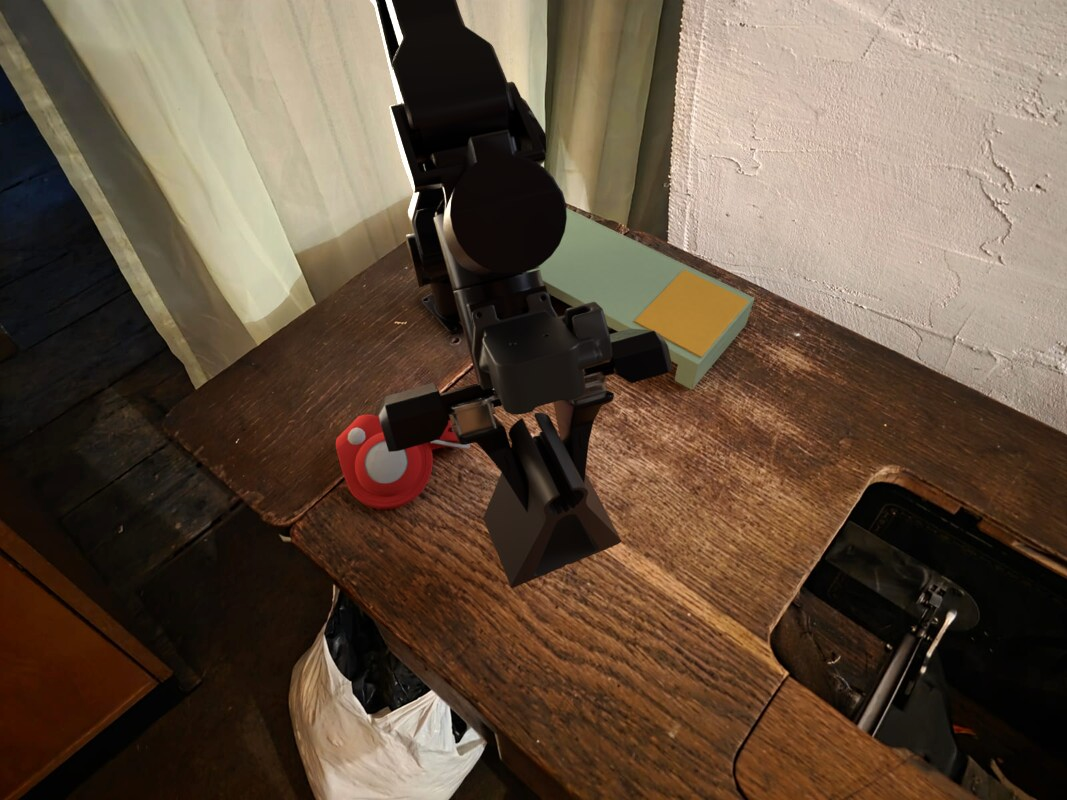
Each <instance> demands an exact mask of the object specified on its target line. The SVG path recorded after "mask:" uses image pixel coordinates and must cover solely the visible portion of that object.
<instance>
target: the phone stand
mask: <svg viewBox="0 0 1067 800" xmlns="http://www.w3.org/2000/svg"><path fill="white" fill-rule="evenodd" d="M533 417H534V419H535V420H536V423H537V425H538V427H539V429H540V430H541V431H540V432H539V434H538V435H533V437H532V435H531V433H530V431H529V428H528V426H527V424H526V422H525V420H524V418H523V417H522V418H519V419H518V420H517V421H515V423H514V424H512V425H511V426H510V429H509V431H508V439H509V441H510V443H511V444H510V446H511V449H512V451H513V454H514V456H515V459H516V461H517V464H518V466H519V469H520V471H521V474H522V476H523V478H524V481H525V483H526V486H527V488H528V512H526V510H525V509H524V507H523V505H522V504H521V502H520V501H519V499H518V498H517V496H516V494H515V493H514V491H513V490H512V488H511V487H510V485H509V483H508V482H507V480H506V479H505V477H504V475H503V474H502V472H500V475H499V477H498V480H497V483H496V484H495V487H494V490H493V492H492V495H491V497H490V500H489V501H488V505H487V507H486V509H485V512H484V515H483V517H482V519H483V522H484V524H485V527H486V529H487V532H488V534H489V536H490V539H491V541H492V545H493V546H494V549H495V551H496V554H497V557H498V559H499V561H500V562H499V563H500V564H501V567H502V569H503V571H504V574H505V576H506V579H507V581H508V584H509V586H510V588H512V589H513V588H516V587H519V586H522V585H523V584H526V583H529V582H531V581H533V580H536V579H538V578H540V577H543V576H545V575H548V574H550V573H552V572H555V571H557V570H560V569H562V568H565V567H566V566H567V565H572V564H574V563H577V562H579V561H581V560H584V559H586V558H589V557H591V556H593V555H596V554H598V553H600V552H603V551H606V550H608V549H610V548H612V547H615V546H618V545H619V544H620V543H621V542H622V538H621V536H620V535H619V533H618V531H617V529H616V528H615V525H614V523H613V521H612V520H611V517H610V516H609V514H608V512H607V510H606V507H605V506H604V504H603V503H602V501H601V499H600V497H599V495H598V493H597V491H596V489H595V488H594V485H593V483H592V482H591V480H590V478H589V476H588V475H587V473H585V483H583V481H582V479H581V477H580V475H579V473H578V471H577V469H576V467H575V465H574V463H573V462H572V460H571V458H570V456H569V454H568V452H567V450H566V448H565V446H564V444H563V442H562V440H561V438H560V435H559V431H557V428H556V427H555V425H554V423H553V421H552V419H551V417H550V416H549V415H548V414H547V413H544V412H535V413H534V416H533Z"/></svg>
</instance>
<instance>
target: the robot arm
mask: <svg viewBox="0 0 1067 800" xmlns="http://www.w3.org/2000/svg"><path fill="white" fill-rule="evenodd" d="M369 1H370V2H371V3H372V5H373V6H374V9H375V14H376V18H377V23H378V26H379V31H380V34H381V39H382V43H383V48H384V52H385V56H386V60H387V64H388V68H389V72H390V76H391V81H392V86H393V89H394V90H393V91H394V93H395V97H396V102H397V103H394V104H391V105H389V111H390V112H389V113H390V116H391V117H390V118H391V122H392V126H393V130H394V134H395V137H396V143H397V146H398V150H399V153H400V157H401V160H402V163H403V166H404V169H405V173H406V174H407V178H408V180H409V183H410V184H411V189H412V191H413V193H412V197H411V200H410V203H409V207H408V210H407V217H408V221H409V225H410V229H411V233H409V234H406V235H405V242H406V247H407V249H408V250H407V251H408V254H409V258H410V263H411V266H412V269H413V273H414V275H415V279H416V282H417V283H416V284H417V286H418V288H423V287H425V286H427V285H428V286H430V291H431V293H430V294H428V295H426V296H424V297H422V299H421V303H422V305H423V306H424V307H425V308H426V310H427V311H428V312H429V313H430V314H431V315H432V316H433V317H434V318H435V320H437V322H438V323H439V324H440V325H441V326H442V327H443V328H444V330H446V332H448V334H450V335H452V336H455V335H457V334H459V333H461V332H463V333H464V338H465V341H466V345H467V348H468V353H469V356H470V359H471V363H472V367H473V371H474V374H475V378H476V383H474V384H473V383H472V384H470V385H466V386H462V387H458V388H455V389H451V390H448V391H444V392H440V390H439V388H438V386H437V384H436V382H431V383H427V384H424V385H421V386H417V387H413V388H410V389H406V390H403V391H398V392H395V393H392V394H388V395H385V397H384V399H383V401H382V403H381V404H380V406H379V413H378V416H379V420H380V424H381V428H382V431H383V434H384V438H385V441H386V444H387V448H388V451H389V452H394V451H400V450H404V449H407V448H411V447H414V446H417V445H421V444H424V443H428V442H431V441H435V440H438V439H440V437H441V436H442V434H443V432H444V430H445V429H446V427H447V425H448V421H450V423H451V425H452V428H453V432H454V434H455V436H456V438H457V440H458V442H459V444H461V445H466V444H470V445H471V444H477V445H478V446H479V448H481V450H482V451H483V452H484V453H485V454H486V455H487V457H489V459H490V460H491V461H492V462H493V463H494V465H495V466H496V467H497V468H498V470H499V471H500V473H502V474H503V475H504V477H505V479H506V480H507V482H508V483H509V485H510V487H511V488H512V490H513V491H514V493H515V494H516V496H517V498H518V499H519V501H520V502H521V504H522V505H523V507H524V509H525V510H526V512H528V488H527V486H526V483H525V481H524V478H523V476H522V474H521V471H520V469H519V466H518V464H517V461H516V459H515V456H514V454H513V451H512V449H511V444H510V443H511V442H510V439H509V436H508V435H507V430H506V427H505V425H503V423H502V422H501V421H500V420H499V419H498V418H497V417H496V415H495V414H496V410H495V408H498V407H502V408H503V410H504V411H505V412H506V413H507V414H509V415H514V416H515V415H516V416H517V415H520V416H521V415H525V414H528V413H529V414H530V413H532V412H533V411H535V409H536V408H538V407H541V406H542V407H543V406H545V405H548V404H552V403H553V408H554V414H555V419H556V424H557V430H558V434H559V436H560V438H561V440H562V442H563V444H564V446H565V448H566V450H567V452H568V454H569V456H570V458H571V460H572V462H573V463H574V465H575V467H576V469H577V471H578V473H579V475H580V477H581V479H582V481H583V483H585V474H587V473H586V471H587V464H588V463H587V462H588V453H589V446H590V445H589V444H590V439H591V434H592V430H593V426H594V423H595V420H596V418H597V416H598V414H599V412H600V410H601V408H602V407H603V406H604V405H607V404H611V403H612V402H614V399H615V393H614V392H613V391H610V390H607V387H606V383H607V378H606V376H611V375H613V374H614V376H617V377H618V378H620V379H621V380H623V381H625V382H626V383H629V384H635V383H639V382H643V381H645V380H648V379H652V378H654V377H655V378H656V377H659V376H663V375H666V374H669V373H670V372H672V371H673V370H674V366H673V363H672V361H671V358H670V353H669V348H668V345H667V343H666V342H665V340H664V338H663V337H662V336H661V335H660V334H658V333H657V332H655V331H653V330H642V329H628V330H624V331H620V332H618V331H616V332H614V333H613V332H612V333H610V330H608V327H607V323H606V319H605V315H604V312H603V309H602V308H601V307H600V306H599V305H598V304H597V303H596V302H591V303H587V304H583V305H579V306H576V307H572V306H571V307H567V309H565V310H564V314H563V315H561V316H558V314H557V312H556V311H555V309H554V308H553V307H554V306H552V301H551V297H550V294H548V293H547V289H546V285H544V284H543V280H542V276H541V272H540V270H536V271H532V272H528V273H524V274H523V272H527V271H530V270H533V269H537V268H539V266H540V265H541V264H543V263H544V262H545V261H546V260H547V259H548V258H550V257H551V256H552V254H553V253H554V252H555V250H556V249H557V247H558V246H559V245H560V242H561V240H562V237H563V235H564V232H565V227H566V220H567V212H566V208H567V202H566V198H565V196H564V195H565V194H564V192H563V190H562V189H561V188H560V186H559V185H558V183H557V181H556V179H555V178H554V176H553V175H552V174H551V173H550V172H549V171H548V170H547V169H546V168H545V166H542V165H543V164H544V163H545V161H546V157H547V156H546V154H547V134H546V132H545V130H544V129H543V127H542V125H541V123H540V121H538V119H537V117H536V116H535V114H534V112H533V110H532V109H531V108H530V105H529V103H528V101H526V100H525V99H524V98H523V97H522V96H521V94H520V91H519V89H518V87H517V85H516V83H515V82H514V81H508V80H507V76H506V73H505V72H504V70H503V67H502V65H501V63H500V59H499V57H498V55H497V53H496V50H495V48H494V46H493V44H492V43H490V42H489V41H488V40H486V39H485V38H483V37H482V36H480V35H479V34H477V33H476V32H475V31H473V30H472V29H470V28H469V27H468V26H466V24H465V21H464V18H463V15H462V14H461V11H460V8H459V5H458V2H457V0H369Z"/></svg>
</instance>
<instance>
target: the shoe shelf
mask: <svg viewBox="0 0 1067 800" xmlns="http://www.w3.org/2000/svg"><path fill="white" fill-rule="evenodd" d="M566 212H567V220H566V227H565V232H564V235H563V237H562V240H561V242H560V245H559V246H558V247H557V249H556V250H555V252H554V253H553V254H552V256H551V257H550V258H548V259H547V260H546V261H545V262H544V263H543V264H541V265H540V266H539V268H537V269H533V270H530V271H527V272H523V274H524V273H528V272H532V271H536V270H540V272H541V276H542V280H543V284H544V285H546V289H547V293H548V294H549V296H552V297H554V298H556V299H557V300H560V301H561V302H563V303H565V304H567V305H569V306H570V307H571V308H572V307H576V306H579V305H583V304H587V303H591V302H596V303H597V304H598V305H599V306H600V307H601V308H602V309H603V312H604V315H605V319H606V323H607V327H608V330H609V331H611V330H614V331H616V332H620V331H624V330H628V329H642V330H653V331H655V332H657V333H658V334H660V335H661V336H662V337H663V338H664V340H665V342H666V343H667V345H668V348H669V353H670V358H671V362H673V363H674V364H676V365H677V366H676V373H675V377H674V381H675V382H677V383H678V384H680V385H682V386H684V387H685V388H687V389H689V390H691V391H693V389H694V388H695V387H696V386H697V384H698V383H699V382H700V381H701V380H702V378H703V377H704V376H705V375H706V374H707V372H708V371H709V370H710V369H711V368H712V366H713V365H714V364H715V363H716V361H717V360H718V359H719V358H720V357H721V356H722V354H723V353H724V352H725V351H726V349H727V348H728V347H729V346H730V345H731V343H733V341H734V340H735V338H736V337H737V336H738V335H739V334H740V333H741V331H742V330H743V329H744V328H745V327H746V325H747V323H748V320H749V318H750V314H751V311H752V308H753V305H754V301H755V297H753V296H751V295H749V294H747V293H745V292H744V291H741V290H740V289H737V288H735V287H733V286H731V285H728V284H726V283H725V282H723V281H720V280H718V279H717V278H714V277H712V276H710V275H707V274H705V273H704V272H702V271H699V270H697V269H695V268H693V267H691V266H689V265H686V264H685V263H682V262H681V261H678V260H676V259H674V258H672V257H670V256H668V255H665V254H664V253H662V252H661V251H658V250H655V249H653V248H651V247H649V246H647V245H645V244H643V243H640V242H639V241H637V240H634V239H633V238H630V237H628V236H627V235H624V234H622V233H620V232H618V231H615V230H613V229H611V228H610V227H608V226H605V225H603V224H601V223H599V222H596V221H594V220H593V219H591V218H589V217H586V216H584V215H582V214H580V213H578V212H576V211H574V210H571V209H570V208H568V207H566Z"/></svg>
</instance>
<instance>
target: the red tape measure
mask: <svg viewBox="0 0 1067 800" xmlns="http://www.w3.org/2000/svg"><path fill="white" fill-rule="evenodd" d="M335 448H336V453H337V457H338V461H339V465H340V469H341V472H342V475H343V477H344V480H345V482H346V485H347V488H348V489H349V491H350V493H351V494H352V496H353V497H354V498H355V499H356V500H357V501H359V502H360V503H361V504H363V505H365V506H367V507H370V508H372V509H376V510H393V509H398V508H401V507H404V506H405V505H408V504H410V503H412V502H413V501H414V500H416V499H417V497H419V496H420V495H421V494H422V492H423V491H424V490H425V489H426V488H427V486H428V482H429V481H430V479H431V475H432V472H433V465H434V457H433V451H434V450H437V449H439V448H440V449H441V448H456V449H461V450H469V449H471V444H466V445H461V444H459V442H458V440H457V438H456V436H455V434H454V432H453V428H452V425H451V423H450V421H448V425H447V427H446V429H445V430H444V432H443V434H442V436H441V437H440V439H438V440H435V441H431V442H428V443H424V444H421V445H417V446H414V447H411V448H407V449H404V450H400V451H394V452H389V451H388V448H387V444H386V441H385V438H384V434H383V431H382V428H381V424H380V420H379V415H375V414H362V415H359V416H357V417H356V418H355V419H354V420H353V422H352V423H350V424H349V426H348V427H346V429H345V430H343V431H342V433H340V435H338V436H337V437H336V439H335Z"/></svg>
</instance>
